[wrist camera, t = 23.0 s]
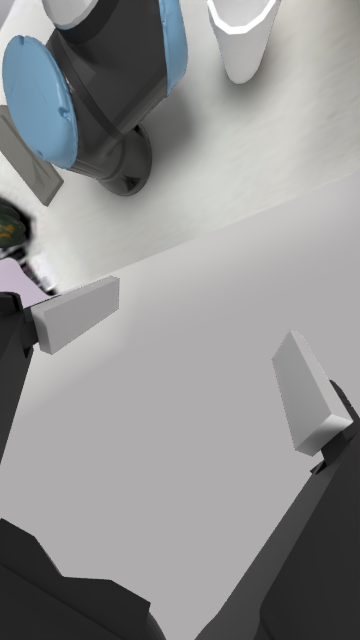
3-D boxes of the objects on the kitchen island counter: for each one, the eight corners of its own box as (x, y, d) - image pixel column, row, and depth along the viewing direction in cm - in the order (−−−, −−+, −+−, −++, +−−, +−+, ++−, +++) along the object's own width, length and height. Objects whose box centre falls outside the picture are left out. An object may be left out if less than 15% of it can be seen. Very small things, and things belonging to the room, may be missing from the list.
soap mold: (49, 207, 56) (38, 206, 53) (-4, 140, 51) (-19, 135, 48) (65, 181, 51) (54, 178, 48) (9, 105, 46) (-7, 96, 43)
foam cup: (270, 86, 33) (286, 15, 22) (217, 103, 36) (208, 48, 25) (275, 0, 29) (299, -140, 18) (216, 27, 32) (204, -80, 21)
